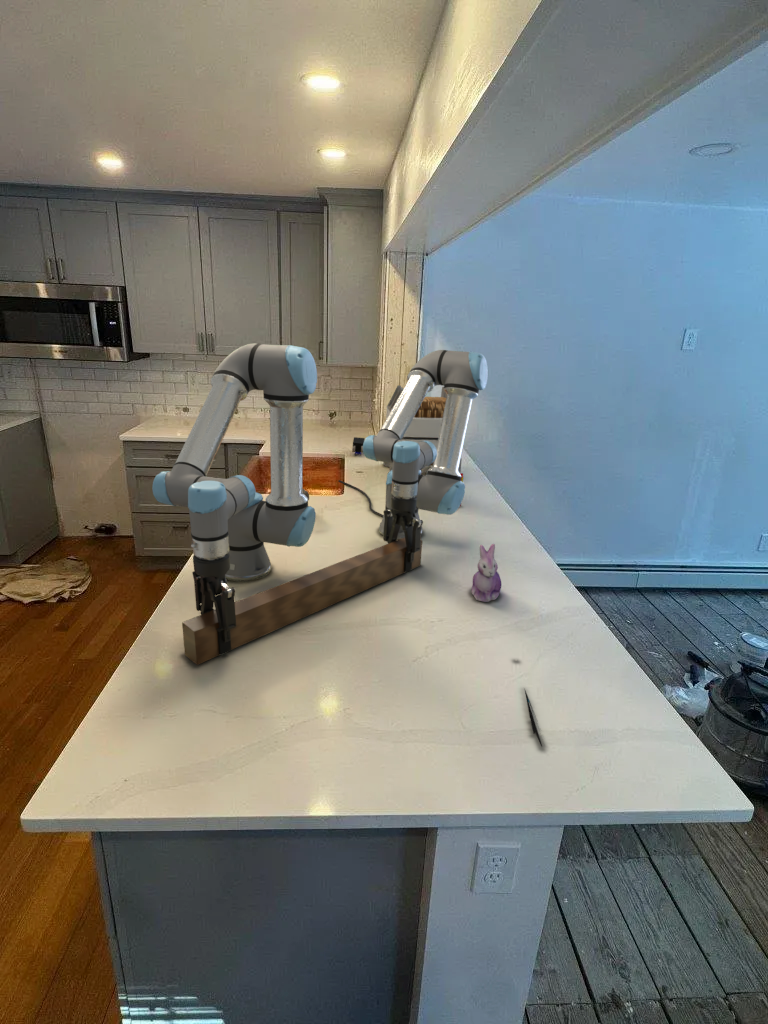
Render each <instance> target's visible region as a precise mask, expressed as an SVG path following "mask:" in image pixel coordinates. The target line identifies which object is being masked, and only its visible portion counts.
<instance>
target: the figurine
mask: <svg viewBox="0 0 768 1024" xmlns="http://www.w3.org/2000/svg"><path fill="white" fill-rule="evenodd" d="M478 548H479V549H478V550H479V560H478V561H477V562H478V563H477V571H476V572H475V573H474V574H473V576H472V586H471V595H472V596H473V597H474V599H475V600H476V601H478V602H479V601H480V602H484V603H486V602H487V603H488V602H490V601H494V600H495V601H496V599H497V598H498V597H499V596H500V593H501V589H502V579H501V576H500V574H499V572H498V568H499V566H498V563H497V560H496V558H495V553H496V550H495V549H496V544H494V543H492V544H491V545H490V546H489V548H488V550H486V548H485V546H484V545H483V544H480V545H479V547H478Z"/></svg>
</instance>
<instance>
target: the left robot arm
mask: <svg viewBox="0 0 768 1024" xmlns="http://www.w3.org/2000/svg"><path fill="white" fill-rule="evenodd" d="M317 383H318V370H317V365H316V361H315V358H314V356H313V354H312V353H311V352H310V350H309V349H307V348H305V347H303V346H296V345H291V344H289V345H286V344H263V343H247V344H245V345H242V346H240V347H238V348H237V349H234V350H233V351H232V352H231V353H229V354H228V355H227V356H226V357H225V358H224V359H223V360H222V361H221V362H220V363H219V365H218V366H217V367H216V369H215V371H214V373H213V375H212V376H211V379H210V385H211V388H210V391H209V393H208V394H207V397H206V399H205V401H204V403H203V405H202V407H201V409H200V411H199V413H198V415H197V417H196V419H195V421H194V424H193V426H192V427H191V429H190V432H189V434H188V436H187V438H186V440H185V442H184V444H183V445H182V448H181V451H180V453H179V454H178V457H177V459H176V460H175V463H174V465H173V466H172V468H171V471H170V470H167V471H160V472H159V473H157V474H156V475H155V477H154V479H153V481H152V486H151V487H152V494H153V497H154V499H155V500H156V501H157V502H158V503H161V504H164V505H168V506H172V507H184V508H188V514H189V522H190V525H189V526H190V536H191V545H190V548H191V549H192V554H193V555H192V563H193V564H192V565H193V571H192V577H193V583H194V597H195V608H196V611H197V612H199V611H200V612H199V613H200V614H199V615H202V614H205V613H207V612H210V611H213V610H216V614H217V619H218V624H219V628H217V634H218V648H219V654H220V655H219V656H222V655H224V654H227V653H229V652H231V651H232V650H231V637H230V636H231V634H230V629H233V628H235V627H236V614H235V602H236V600H235V596H236V595H235V594H236V588H235V587H234V586H232V587H229V585H228V581H230V582H231V581H232V582H250V581H251V582H252V581H256V580H259V579H263V578H265V577H266V576H267V575H268V574H270V572H271V569H272V563H271V560H270V556H269V554H268V552H267V549H266V546H265V543H267V544H272V545H273V544H274V545H279V546H285V547H289V548H290V547H295V548H301V547H303V546H305V545H306V544H307V543H308V542H309V540H310V538H311V536H312V533H313V531H314V528H315V524H316V519H317V518H316V517H317V515H316V514H317V513H316V510H315V508H314V507H312V506H311V505H310V506H309V500H308V498H307V496H305V495H304V494H303V489H304V488H303V487H304V485H303V483H304V482H303V478H304V477H303V476H304V474H303V473H304V472H303V471H304V466H303V465H304V463H303V461H304V460H303V459H304V451H303V450H304V448H303V447H304V432H303V431H304V405H306V404H307V403H308V401H309V400H310V396H309V395H312V394H314V392H316V388H317ZM254 390H255V391H263V400H264V401H265V402H266V403H267V404H268V405H269V441H270V442H269V443H270V444H269V445H270V446H269V447H270V448H269V449H270V452H269V453H270V493H269V494H268V495H267V496H266V497H265V500H264V496H263V495H262V493H259V492H257V491H256V487H255V484H254V483H253V481H252V480H251V479H250V478H249V477H248V476H245V475H242V474H236V475H232V476H229V477H228V478H223V477H214V476H208V474H209V472H210V469H211V467H212V465H213V462H214V460H215V458H216V456H217V454H218V451H219V449H220V448H221V447H220V446H221V444H222V442H223V440H224V437H225V436H226V435H227V434H226V433H227V431H228V429H229V427H230V424H231V422H232V420H233V418H234V416H235V413H236V411H237V409H238V407H239V405H240V402H242V401H244V400H245V399H246V398H247V397H248V395H249V392H251V391H254Z"/></svg>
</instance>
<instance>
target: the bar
mask: <svg viewBox="0 0 768 1024" xmlns="http://www.w3.org/2000/svg"><path fill="white" fill-rule="evenodd" d="M406 551H407V547H406V541H405V537H404V538H402V539H399V540H396V541H394V542H391V543H389V544H388V543H387V544H384V545H381V546H378V547H376V548H374V549H370V550H368V551H365V552H363V553H360V554H358V555H354V556H352V557H350V558H346V559H344V560H341V561H339V562H336V563H334V564H331V565H329V566H325V567H323V568H321V569H318V570H314V571H312V572H310V573H308V574H305V575H302V576H300V577H297V578H294V579H291V580H289V581H286V582H283V583H281V584H279V585H276V586H273V587H271V588H268V589H265V590H263V591H260V592H257V593H255V594H251V595H249V596H248V597H247V596H246V597H244V598H242V599H239V600H235V614H236V627H235V628H233V629H230V634H231V636H230V637H231V651H232V650H234V649H236V648H238V647H239V648H240V647H241V646H243V645H245V644H248V643H250V642H252V641H254V640H255V641H256V640H257V639H259V638H261V637H264V636H266V635H268V634H270V633H272V632H274V631H277V630H279V629H281V628H284V627H286V626H288V625H291V624H292V623H295V622H297V621H300V620H301V619H304V618H306V617H308V616H311V615H313V614H315V613H318V612H320V611H322V610H324V609H326V608H329V607H332V606H333V605H335V604H337V603H340V602H342V601H344V600H347V599H348V598H352V597H353V596H355V595H358V594H360V593H362V592H364V591H367V590H369V589H372V588H374V587H376V586H378V585H380V584H382V583H384V582H387V581H389V580H391V579H394V578H396V577H398V576H400V575H402V574H405V572H404V558H405V552H406ZM422 553H423V540H422V539H421V544H420V551H417V552H415V553H414V561H413V562H412V569H411V570H410V571H412V570H414V569H416V568H418V567H420V566H421V565H422ZM181 626H182V627H181V628H182V637H183V638H182V639H183V649H184V650H183V651H184V656H186V657H187V658H188V659H189V660H190V661H192V662H193V663H194V664H195V665H196V666H198V665H201V664H203V663H205V662H207V661H210V660H213V659H214V658H216V657H219V656H221V655H220V654H219V648H218V634H217V628H219V624H218V619H217V614H216V610H215V609H214V610H213V611H210V612H207V613H205V614H202V615H201V614H199V615H197V616H194V617H192V618H188V619H186V620H184V621H182V622H181Z"/></svg>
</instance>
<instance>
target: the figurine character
mask: <svg viewBox="0 0 768 1024" xmlns="http://www.w3.org/2000/svg"><path fill="white" fill-rule="evenodd" d="M365 439H366V437H357V436H354V437H353V439H352V450H351V451H352V453H354V456H357V455H359V456H362V453H363V443H364V441H365Z"/></svg>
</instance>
